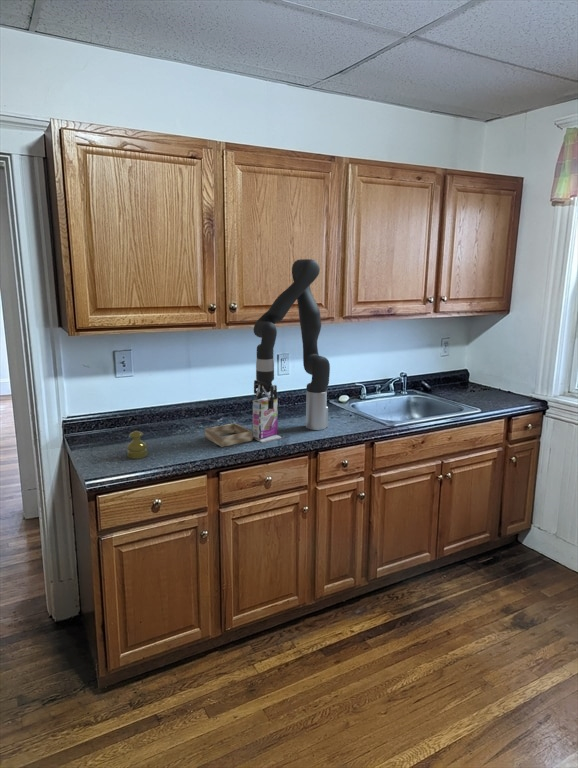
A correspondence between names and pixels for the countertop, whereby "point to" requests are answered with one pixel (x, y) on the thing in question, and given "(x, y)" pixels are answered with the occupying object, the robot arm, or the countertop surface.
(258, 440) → the mat
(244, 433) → the wooden square frame
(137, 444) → the brass calibration weight
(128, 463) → the countertop surface
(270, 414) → the candy bar box
